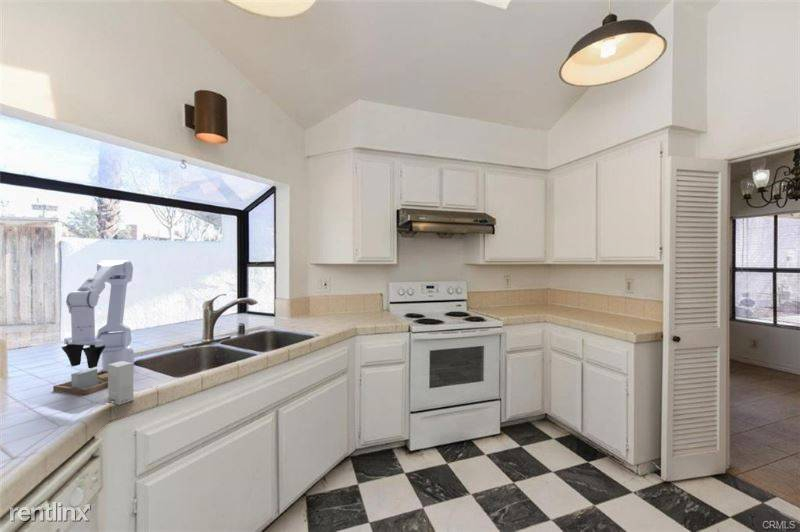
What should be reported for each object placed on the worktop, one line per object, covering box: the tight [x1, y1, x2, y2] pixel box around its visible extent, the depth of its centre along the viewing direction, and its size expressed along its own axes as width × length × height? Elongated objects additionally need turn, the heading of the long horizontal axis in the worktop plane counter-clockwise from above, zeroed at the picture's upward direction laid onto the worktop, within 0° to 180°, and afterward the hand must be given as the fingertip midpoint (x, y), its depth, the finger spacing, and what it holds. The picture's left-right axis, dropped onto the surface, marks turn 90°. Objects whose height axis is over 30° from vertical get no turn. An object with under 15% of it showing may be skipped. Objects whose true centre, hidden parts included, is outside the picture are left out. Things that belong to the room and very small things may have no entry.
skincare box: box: [107, 361, 135, 406], centre depth 108 cm, size 6×4×12 cm
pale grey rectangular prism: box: [70, 367, 99, 389], centre depth 115 cm, size 6×2×7 cm, turn 166°
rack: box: [52, 370, 108, 396], centre depth 118 cm, size 15×14×3 cm
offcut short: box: [97, 373, 108, 384], centre depth 121 cm, size 3×5×2 cm, turn 62°
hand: (84, 366), depth 114 cm, fingers open, 7 cm apart
